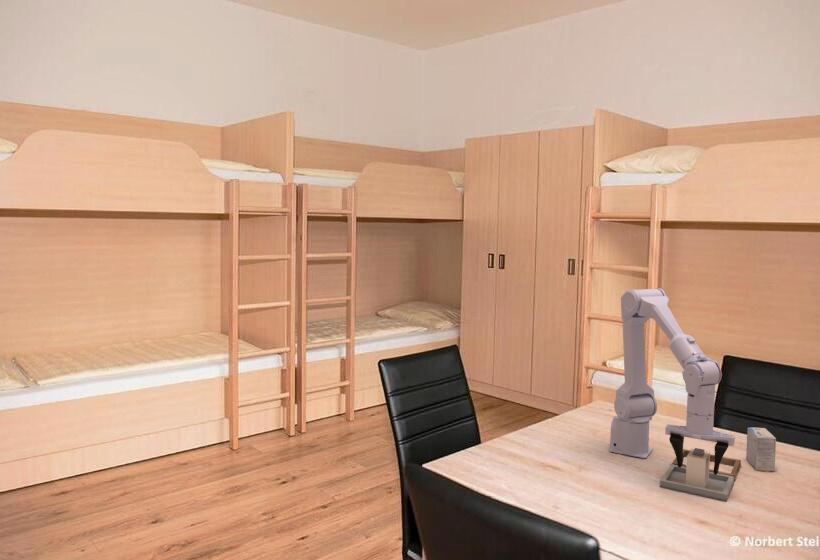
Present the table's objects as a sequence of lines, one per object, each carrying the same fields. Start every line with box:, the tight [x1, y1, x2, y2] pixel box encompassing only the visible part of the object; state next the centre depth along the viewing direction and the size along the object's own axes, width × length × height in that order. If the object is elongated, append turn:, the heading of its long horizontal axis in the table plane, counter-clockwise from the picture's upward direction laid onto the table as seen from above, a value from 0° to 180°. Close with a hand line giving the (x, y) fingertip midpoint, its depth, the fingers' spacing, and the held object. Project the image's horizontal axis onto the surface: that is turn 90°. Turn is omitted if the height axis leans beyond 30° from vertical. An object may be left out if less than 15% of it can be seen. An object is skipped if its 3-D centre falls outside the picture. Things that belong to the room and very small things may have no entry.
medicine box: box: [745, 427, 777, 472], centre depth 161 cm, size 8×4×9 cm, turn 168°
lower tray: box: [659, 463, 735, 502], centre depth 149 cm, size 14×12×2 cm
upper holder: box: [671, 448, 742, 483], centre depth 160 cm, size 14×12×2 cm
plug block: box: [686, 447, 711, 488], centre depth 149 cm, size 4×6×8 cm, turn 146°
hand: (697, 469), depth 149 cm, fingers open, 7 cm apart
